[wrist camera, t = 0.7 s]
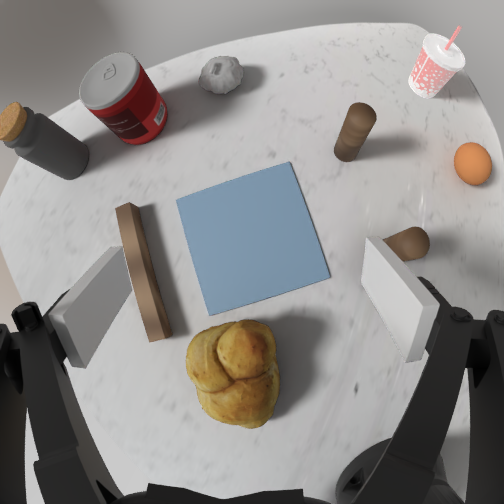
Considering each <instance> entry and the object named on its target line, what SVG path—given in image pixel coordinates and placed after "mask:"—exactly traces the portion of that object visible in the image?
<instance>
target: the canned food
mask: <svg viewBox="0 0 504 504" xmlns="http://www.w3.org/2000/svg"><path fill="white" fill-rule="evenodd" d="M79 97H80V100H81V102H82V103H83V104H84V106H85V107H86V108H88V109H89V111H91V112H92V113H93V114H94V115H95V116H96V117H97V118H98V119H99V120H100V121H102V122H103V123H104V124H105V125H106V126H107V127H108V128H109V129H110V130H112V131H113V132H114V133H115V134H116V135H117V136H118V137H119V138H120V139H122V140H123V141H124V142H127V143H129V144H134V145H139V144H144V143H147V142H149V141H151V140H152V139H154V138H155V137H156V136H157V135H158V134H159V133H160V132H161V131H162V129H163V128H164V126H165V123H166V121H167V107H166V104H165V102H164V100H163V99H162V97H161V96H160V94H159V93H158V91H157V89H156V88H155V86H154V85H153V83H152V82H151V80H150V78H149V77H148V75H147V74H146V72H145V71H144V69H143V67H142V66H141V64H140V63H139V62H138V60H137V59H136V58H135V57H134V56H133V55H132V54H130V53H127V52H117V53H113V54H110V55H108V56H106V57H104V58H102V59H101V60H99V61H98V62H97V63H96V64H95V65H93V66H92V67H91V69H90V70H89V71H88V72H87V74H86V75H85V77H84V78H83V80H82V82H81V85H80V89H79Z"/></svg>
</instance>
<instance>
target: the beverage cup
mask: <svg viewBox="0 0 504 504" xmlns="http://www.w3.org/2000/svg"><path fill="white" fill-rule="evenodd" d="M461 28H462V26H460V25H459V26H458V27H457V29H456V30H455V32H454V34H453V35H452V37H451V39H450V40H449V39H447V38H445V37H443V36H441V35H439V34H433V33H432V34H428V35H426V37H425V38H424V41H423V47H422V49H421V52H420V54H419V56H418V59H417V61H416V63H415V65H414V68H413V70H412V72H411V74H410V77H409V85H410V87H411V89H412V90H413V91H414V92H415V93H416V94H418V95H419V96H421V97H424V98H432V97H434V96H435V95H436V94H437V93H438V92H439V91H440V89H441V88H442V87H443V86H444V85H445V84H446V83H447V82H448V81H449V80H450V79H451V78H452V76H453V75H454V74H455V73H456V72H457V71H459V70H461V69H462V68H463V67H464V65H465V57H464V55H463V53H462V52H461V50H460V49H459V48H458V47H457V46H456V45H455V44H454V43H453V41H454V39H455V38H456V36H457V35H458V33H459V32H460V30H461Z"/></svg>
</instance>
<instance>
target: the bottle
mask: <svg viewBox="0 0 504 504" xmlns="http://www.w3.org/2000/svg"><path fill="white" fill-rule="evenodd" d="M0 140H3V142H4V144H5V145H6V146H7V147H10V148H15V152H16V154H17V155H18V156H20V157H22V158H24V159H26V160H27V161H29V162H31V163H33V164H35V165H37V166H39V167H41V168H43V169H45V170H47V171H49V172H51V173H53V174H55V175H57V176H59V177H61V178H63V179H66V180H72V179H74V178H76V177H78V176H79V175H80V174H81V173H82V172H83V170H84V169H85V167H86V165H87V163H88V159H89V151H88V148H87V147H86V146H85V145H84V144H83V143H82V142H81V141H79V140H78V139H76V138H75V137H74V136H72V135H71V134H70V133H68V132H67V131H65V130H64V129H63V128H61V127H60V126H59V125H57V124H56V123H55V122H53V121H52V120H50V119H49V118H48V117H46V116H44V115H43V114H41V113H37V114H34V112H33V110H31V109H30V108H28V107H22V106H21V105H20V103H18V102H14V103H12V104H10V105H9V106H8V107H7V108H6V109H5V110H4V111H3V112H2V114H1V115H0Z"/></svg>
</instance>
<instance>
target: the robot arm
mask: <svg viewBox="0 0 504 504" xmlns="http://www.w3.org/2000/svg"><path fill="white" fill-rule="evenodd" d="M361 284H362V285H363V287H364V289H365V291H366V292H367V294H368V296H369V297H370V299H371V301H372V303H373V304H374V306H375V308H376V310H377V311H378V313H379V315H380V317H381V319H382V320H383V322H384V324H385V326H386V328H387V329H388V331H389V333H390V335H391V337H392V339H393V340H394V342H395V344H396V346H397V348H398V350H399V352H400V354H401V356H402V357H403V359H404V361H405V363H408V362H413V361H418V360H421V359H422V356H423V353H424V351H425V349H426V351H427V352H428V354H429V357H428V360H427V362H426V365H425V367H424V369H423V372H422V374H421V377H420V380H419V382H418V384H417V387H416V389H415V391H414V393H413V396H412V398H411V400H410V402H409V404H408V407H407V409H406V411H405V413H404V415H403V417H402V419H401V421H400V423H399V425H398V427H397V429H396V431H395V433H394V435H393V436H392V438H391V439H388V440H385V441H383V442H380V443H378V444H376V445H374V446H372V447H370V448H369V449H367V450H365V451H364V452H363V453H361V454H360V455H359V456H357V457H356V458H355V459H354V460H353V461H352V462H351V463H350V464H349V465H348V466H347V467H346V468H345V470H344V471H343V472H342V474H341V476H340V478H339V480H338V482H337V485H336V499H337V502H338V504H504V311H499V310H492V311H490V312H489V313H488V316H487V318H486V320H474V319H473V316H472V315H471V314H470V313H469V312H468V311H467V310H465V309H462V308H459V307H452V306H451V305H450V304H449V303H448V302H447V301H446V300H445V298H444V297H443V296H442V295H441V294H439V292H438V290H437V289H435V287H434V286H433V285H432V284H431V283H430V282H429V281H428V280H426V279H424V278H423V277H416V276H415V275H414V274H413V272H412V271H411V270H410V269H409V268H408V267H407V266H406V265H405V264H404V263H403V261H402V260H401V259H400V258H399V257H398V256H397V255H396V254H395V253H394V252H393V251H392V250H391V249H390V248H389V246H388V245H387V244H386V243H385V242H384V241H383V240H382V239H381V238H380V237H366V244H365V253H364V262H363V270H362V278H361ZM131 291H132V287H131V283H130V279H129V274H128V270H127V266H126V261H125V257H124V252H123V247H122V246H120V247H110V248H109V249H108V250H107V251H106V252H105V253H104V254H103V255H102V256H101V257H100V258H99V259H98V260H97V261H96V262H95V263H94V264H93V265H92V266H91V267H90V268H89V270H88V271H87V272H86V273H85V274H84V275H83V276H82V277H81V278H80V279H79V280H78V281H77V282H76V284H75V285H74V286H73V287H72V288H71V289H69V290H68V291H66V292H65V293H63V294H62V295H61V296H60V297H59V298H58V300H57V301H56V302H55V303H54V304H53V306H51V307H50V309H49V310H48V311H47V312H46V313H45V314H44V316H43V317H42V315H41V313H40V310H39V308H38V305H37V304H36V303H35V302H26V303H23V304H21V305H19V306H18V307H16V308H15V309H14V310H13V312H12V314H11V315H12V318H13V320H14V322H15V324H16V326H17V329H18V330H19V332H13V333H10V332H9V330H8V328H7V326H6V324H0V504H27V501H26V488H25V428H26V413H27V408H28V414H29V418H30V423H31V428H32V432H33V437H34V441H35V445H36V449H37V453H38V456H39V460H38V461H35V462H34V464H33V465H34V471H35V475H36V478H37V481H38V484H39V487H40V490H41V494H42V497H43V499H44V502H45V504H331V503H329V502H326V501H322V500H319V499H315V498H310V497H304V496H303V489H294V490H278V491H262V492H258V493H253V494H249V495H244V496H239V497H234V498H229V499H218V498H215V497H211V496H208V495H204V494H201V493H198V492H195V491H191V490H188V489H185V488H179V487H171V486H164V485H157V484H150V483H148V487H147V491H144V492H137V493H133V494H129V495H126V496H124V495H123V494H122V493H121V491H120V490H119V489H118V487H117V486H116V484H115V482H114V480H113V479H112V477H111V475H110V473H109V471H108V469H107V467H106V465H105V463H104V461H103V459H102V457H101V455H100V453H99V451H98V449H97V447H96V445H95V442H94V440H93V438H92V436H91V434H90V431H89V429H88V426H87V424H86V422H85V419H84V417H83V414H82V412H81V409H80V406H79V404H78V401H77V398H76V396H75V393H74V390H73V387H72V384H71V381H70V378H69V375H68V372H67V369H66V367H65V365H64V363H63V362H64V360H65V358H66V357H67V358H68V360H69V362H70V364H71V366H72V367H79V368H85V369H86V367H87V365H88V364H89V362H90V360H91V358H92V356H93V355H94V353H95V351H96V349H97V348H98V346H99V344H100V342H101V341H102V339H103V337H104V335H105V334H106V332H107V330H108V329H109V327H110V325H111V324H112V322H113V320H114V319H115V317H116V315H117V314H118V312H119V310H120V309H121V307H122V306H123V304H124V302H125V301H126V299H127V298H128V296H129V294H130V293H131ZM465 368H467V370H468V381H469V397H470V457H469V472H468V483H467V492H466V500H465V503H464V502H463V501H462V500H461V498H460V497H459V496H458V495H457V494H456V493H455V491H454V490H453V489H452V488H451V487H450V486H449V484H448V483H447V479H446V474H445V469H444V464H443V460H442V457H441V455H440V450H441V448H442V445H443V442H444V439H445V437H446V434H447V431H448V428H449V425H450V422H451V419H452V415H453V412H454V409H455V405H456V402H457V398H458V395H459V391H460V387H461V383H462V379H463V375H464V370H465Z"/></svg>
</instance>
